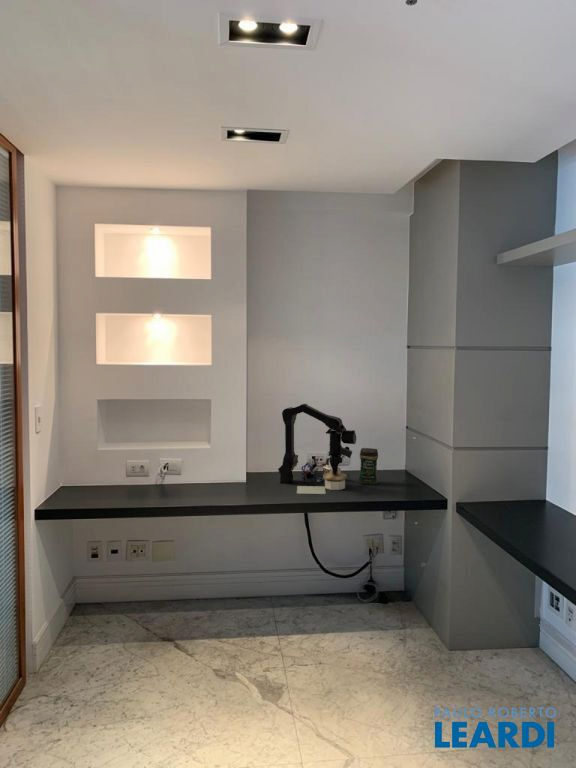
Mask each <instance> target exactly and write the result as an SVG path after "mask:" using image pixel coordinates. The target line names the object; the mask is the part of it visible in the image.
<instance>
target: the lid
mask: <svg viewBox="0 0 576 768" xmlns="http://www.w3.org/2000/svg"><path fill="white" fill-rule="evenodd" d="M323 478H325V479H328V480H344V479H345V480H347V479H348V475H347V473H344V472H341V473H339V472H338V468H337V473H336V474H334V473H333V470H332V472H329V473H324V474H323V473H322V479H323Z"/></svg>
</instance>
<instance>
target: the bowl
mask: <svg viewBox="0 0 576 768" xmlns="http://www.w3.org/2000/svg"><path fill="white" fill-rule="evenodd" d="M324 486H325V489H327V490H332V491H334V490H335V491H339V490H343V489H346V479H344V480H328V479H325V480H324Z"/></svg>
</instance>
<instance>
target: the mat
mask: <svg viewBox="0 0 576 768" xmlns="http://www.w3.org/2000/svg"><path fill="white" fill-rule="evenodd" d="M296 494H299V495H300V494H301V495H306V494H308V495H311V494H312V495H326V494H327V493H326V488H325V485H323V486H322V485H321V486H320V485H319V486H318V485H315V486H312V485H308V486H307V485H297V486H296Z"/></svg>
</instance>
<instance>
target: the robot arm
mask: <svg viewBox="0 0 576 768" xmlns="http://www.w3.org/2000/svg"><path fill="white" fill-rule="evenodd" d="M302 413H304V414H306V415H308V416H310V417H312V418H314V419H315V420H318V421H320V422H322V423H323V424H324V425H325V426H326V427H327V428H328V429H327V430H326V431H325V434H326V435H327V434H329V450H328V458H329V462H330V465H331V467H332V470H333V473H334V474H336V473H337V468H338V467H339V464H343V458H342V456H344V457H347V458H348V459H351V457H352V454H353V450H351V449H350V446H348V445H346V446H345V447H343V446H342V443H343V444H349V445H356V443H357V435H356V434H357V433H356V430H354V429H353V430H350V429H349V430H347V428H346V427H345V425H344V424H343V420H342V419H341V417H338V416H334V415H329V414H326V413H324V412H322V411H320V410H319V409H317V408H314V407H313V406H310V405H309V404H307V403H303V404H300V405H298V406H295V407H292V406H291V407H290V406H289V407H286V408H284V409H283V410H282V411H281V416H282V421H283V423H284V431H285V432H284V433H285V434H284V438H285V439H284V440H285V442H284V443H285V451H284V455H283V459H282V464H281V465H280V466H279V468H277V469H278V473H279V475H280V477H279V484H281V485H283V484H285V485H288V484H289V485H290V484H291V485H292V484H293V483H294V473H293V471H294V469H295V468H296V467H297V465H298V463H299V461H298V460H299V455H298V454H296V453H295V424H296V420H297V415H299V414H302Z"/></svg>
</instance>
